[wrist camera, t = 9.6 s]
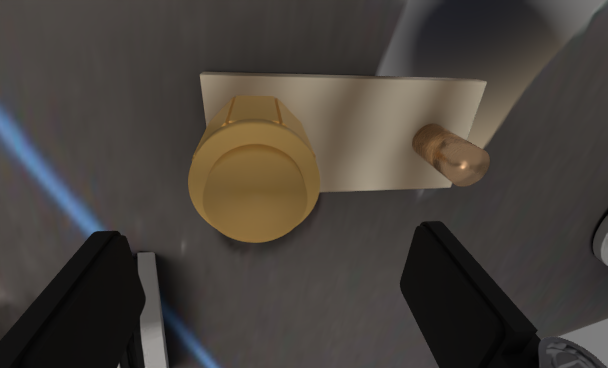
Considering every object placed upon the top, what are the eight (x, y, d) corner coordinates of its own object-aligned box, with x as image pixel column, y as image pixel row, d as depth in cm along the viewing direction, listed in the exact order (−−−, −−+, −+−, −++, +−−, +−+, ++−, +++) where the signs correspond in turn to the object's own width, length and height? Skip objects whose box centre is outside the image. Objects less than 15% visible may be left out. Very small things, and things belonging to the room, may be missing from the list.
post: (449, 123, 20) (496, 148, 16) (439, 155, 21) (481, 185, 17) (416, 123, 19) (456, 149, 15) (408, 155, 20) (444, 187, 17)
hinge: (84, 249, 22) (58, 377, 14) (153, 238, 24) (162, 342, 17) (117, 373, 30) (112, 498, 22) (167, 355, 32) (179, 464, 24)
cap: (305, 94, 17) (331, 135, 11) (301, 181, 20) (320, 251, 14) (202, 93, 16) (169, 136, 10) (214, 183, 19) (193, 259, 13)
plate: (474, 78, 19) (486, 81, 18) (441, 180, 23) (450, 187, 22) (203, 71, 17) (199, 74, 16) (217, 187, 21) (215, 196, 20)
